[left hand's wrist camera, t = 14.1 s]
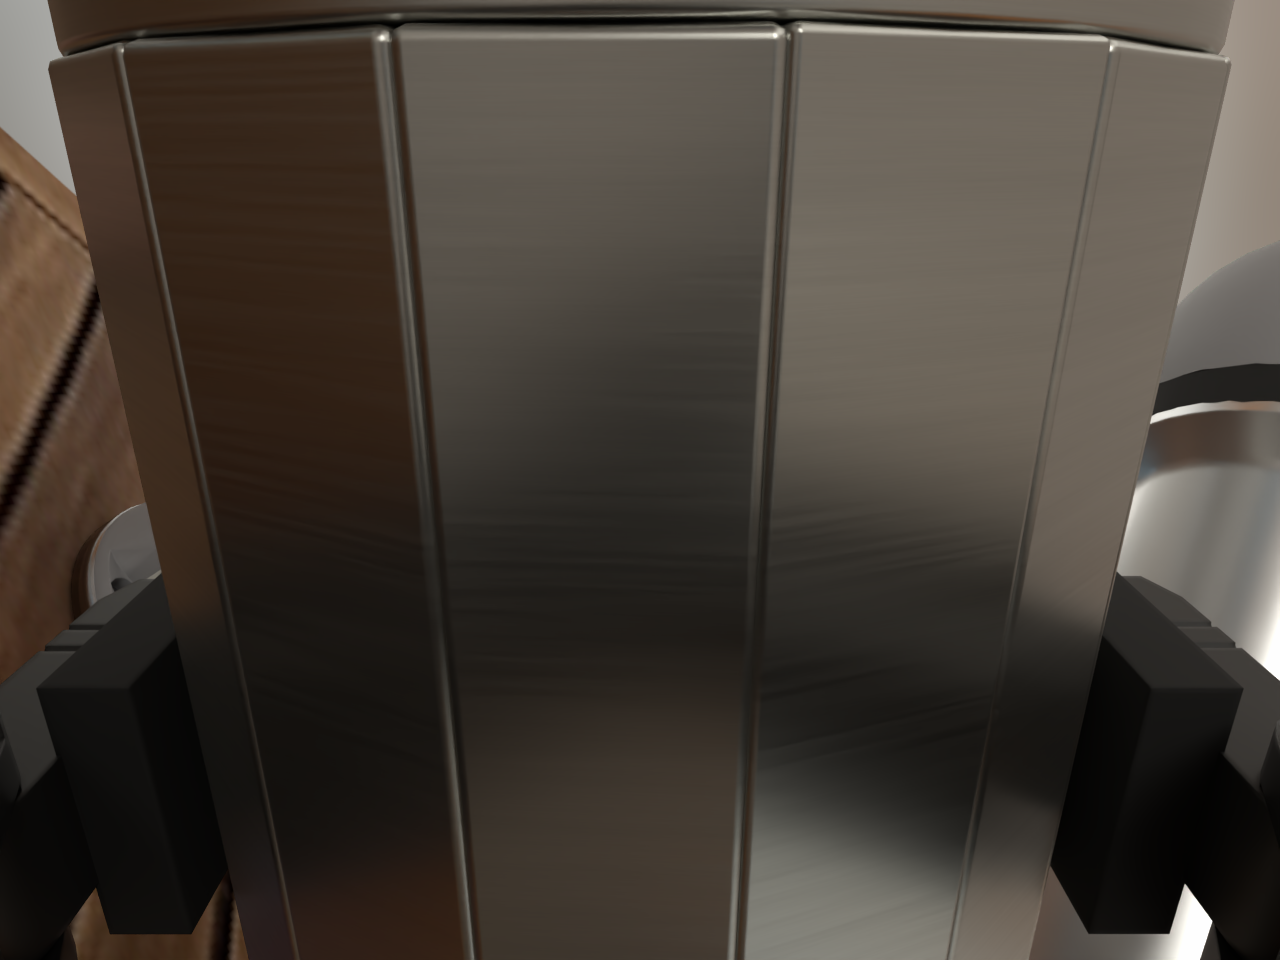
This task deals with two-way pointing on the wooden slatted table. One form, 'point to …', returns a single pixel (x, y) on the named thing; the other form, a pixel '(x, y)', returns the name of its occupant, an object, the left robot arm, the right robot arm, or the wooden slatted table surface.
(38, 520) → the wooden slatted table surface
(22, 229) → the wooden slatted table surface
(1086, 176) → the cup
